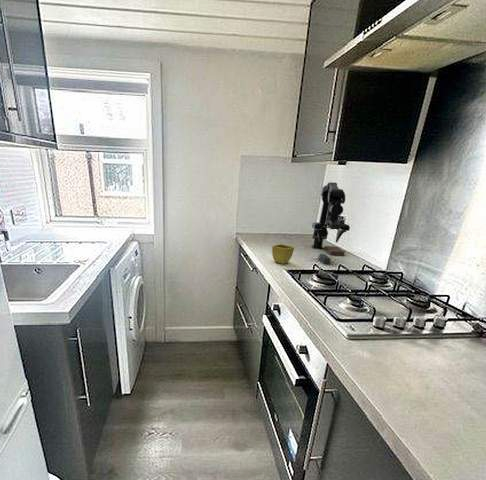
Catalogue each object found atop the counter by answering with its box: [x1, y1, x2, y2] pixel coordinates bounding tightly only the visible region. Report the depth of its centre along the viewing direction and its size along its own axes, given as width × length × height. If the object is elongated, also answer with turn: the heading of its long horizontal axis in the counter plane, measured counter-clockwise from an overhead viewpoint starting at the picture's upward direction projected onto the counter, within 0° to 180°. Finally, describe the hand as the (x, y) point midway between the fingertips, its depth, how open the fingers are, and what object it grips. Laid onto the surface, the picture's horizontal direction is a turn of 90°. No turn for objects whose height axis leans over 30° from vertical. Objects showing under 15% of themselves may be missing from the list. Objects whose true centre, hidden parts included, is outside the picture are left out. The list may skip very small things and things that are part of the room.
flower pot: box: [271, 243, 295, 265], centre depth 164 cm, size 9×9×9 cm
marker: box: [317, 253, 331, 265], centre depth 170 cm, size 11×3×3 cm, turn 177°
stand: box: [323, 245, 346, 257], centre depth 191 cm, size 14×8×2 cm, turn 177°
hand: (328, 242), depth 168 cm, fingers open, 9 cm apart
